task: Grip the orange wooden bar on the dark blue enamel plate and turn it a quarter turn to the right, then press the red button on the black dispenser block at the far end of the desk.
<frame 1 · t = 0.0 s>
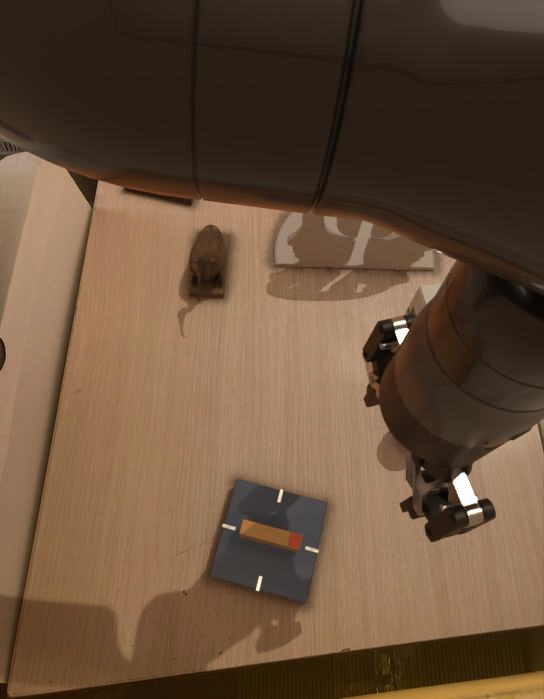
hand: (394, 451, 42), 20 cm above the worktop, tool pointing down, fingers open, 8 cm apart
pill bottle: (417, 434, 64), on the worktop
ornament: (352, 230, 76), on the worktop
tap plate: (269, 541, 58), on the worktop
orange wooden bar: (270, 536, 53), point 5 cm above the worktop, hinge at 0.0°
glasses: (281, 78, 88), on the worktop
ink box: (429, 345, 69), on the worktop
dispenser: (169, 172, 79), on the worktop
button: (165, 153, 76), point 4 cm above the worktop, slide at 0.1 cm
figurine: (209, 279, 72), on the worktop
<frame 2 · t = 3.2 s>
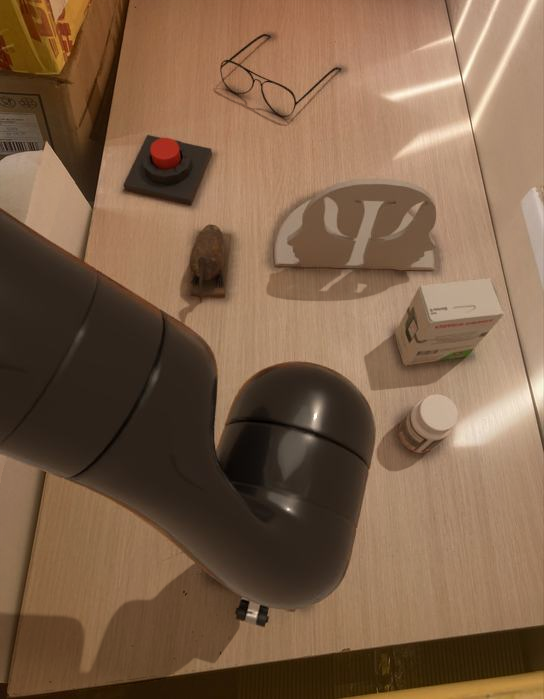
hand: (267, 548, 55), 3 cm above the worktop, tool pointing down, fingers open, 4 cm apart
nothing on the worktop moved.
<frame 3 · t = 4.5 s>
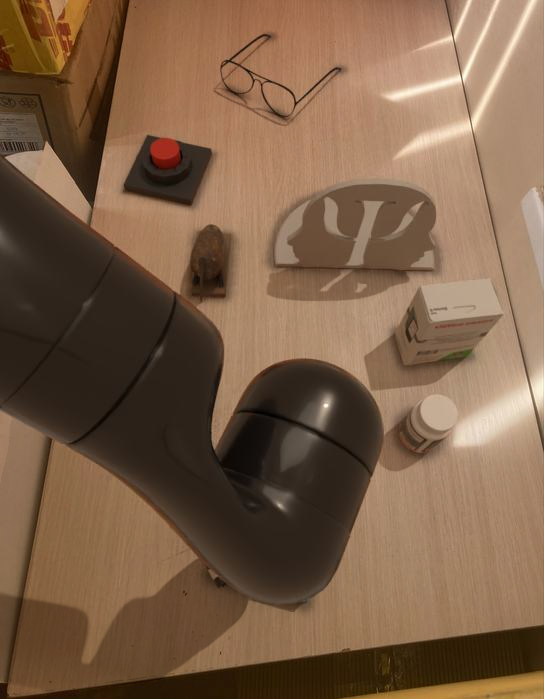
hand: (272, 540, 55), 3 cm above the worktop, tool pointing down, fingers closed on orange wooden bar, 2 cm apart
orange wooden bar: (270, 536, 53), point 5 cm above the worktop, hinge at -25.1°, touching gripper
everything else where it was.
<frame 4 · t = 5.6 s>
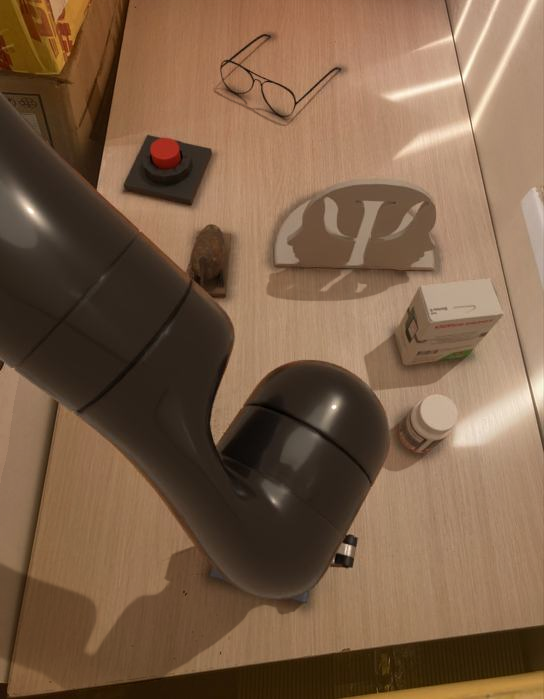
hand: (276, 543, 55), 3 cm above the worktop, tool pointing down, fingers open, 4 cm apart
orange wooden bar: (270, 536, 53), point 5 cm above the worktop, hinge at -78.9°
everything else where it was.
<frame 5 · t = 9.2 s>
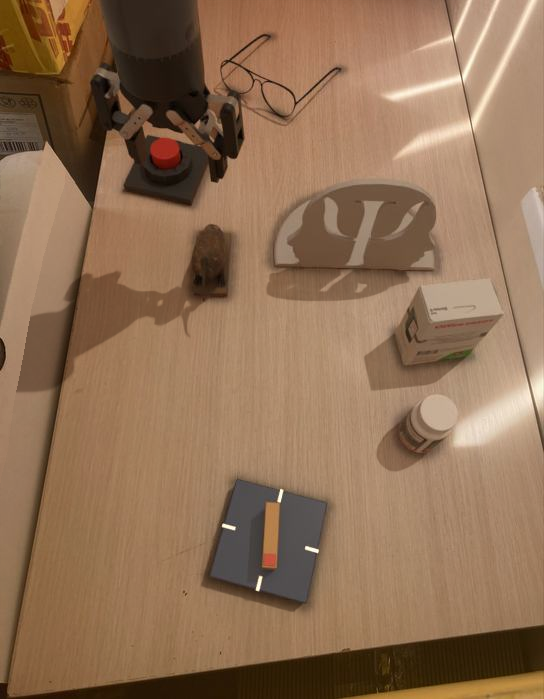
hand: (179, 167, 58), 16 cm above the worktop, tool pointing down, fingers open, 8 cm apart
nothing on the worktop moved.
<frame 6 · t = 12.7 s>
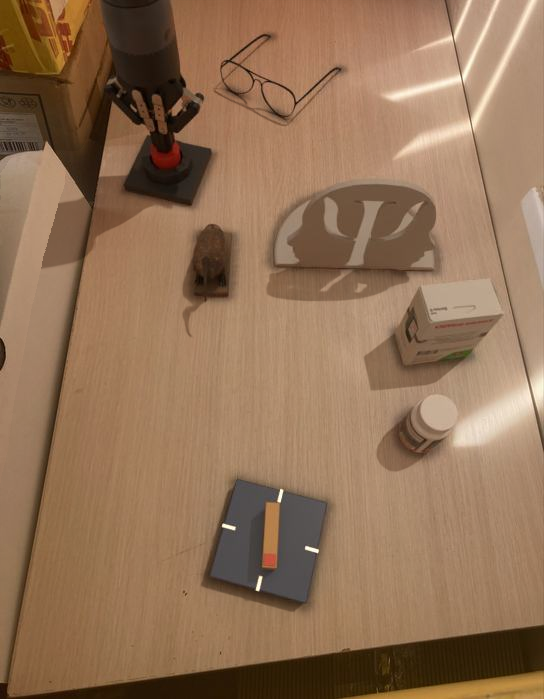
hand: (164, 147, 75), 5 cm above the worktop, tool pointing down, fingers closed
button: (165, 153, 76), point 4 cm above the worktop, slide at 0.1 cm, touching gripper
everything else where it was.
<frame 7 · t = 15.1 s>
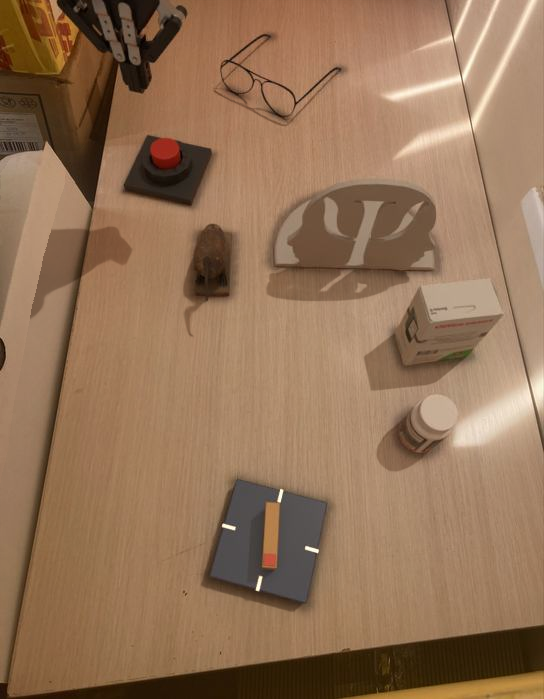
hand: (139, 87, 59), 19 cm above the worktop, tool pointing down, fingers closed
button: (165, 153, 76), point 4 cm above the worktop, slide at 0.1 cm
everything else where it was.
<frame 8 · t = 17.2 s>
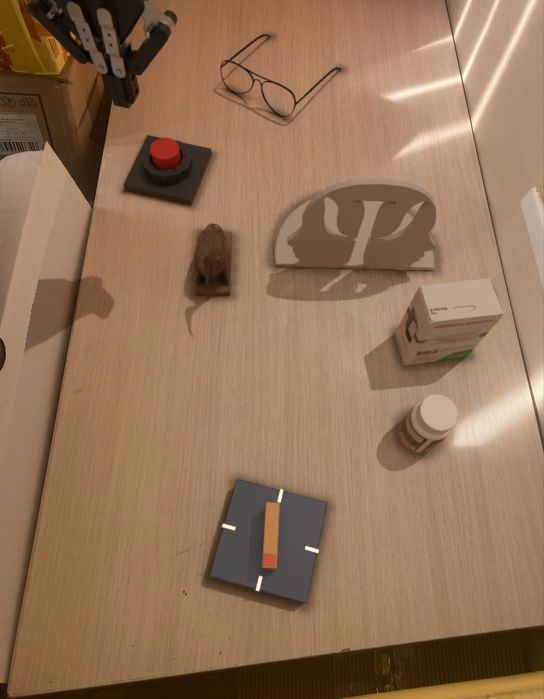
hand: (125, 101, 53), 23 cm above the worktop, tool pointing down, fingers closed
nothing on the worktop moved.
at the end: orange wooden bar at -79° (first picture: +0°); button pushed in 1.1 cm at the most during the clip, back to where it started at the end; button slide at 0.1 cm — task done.
